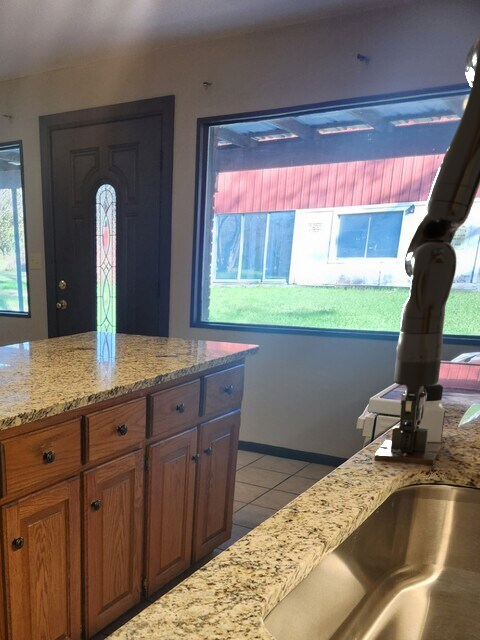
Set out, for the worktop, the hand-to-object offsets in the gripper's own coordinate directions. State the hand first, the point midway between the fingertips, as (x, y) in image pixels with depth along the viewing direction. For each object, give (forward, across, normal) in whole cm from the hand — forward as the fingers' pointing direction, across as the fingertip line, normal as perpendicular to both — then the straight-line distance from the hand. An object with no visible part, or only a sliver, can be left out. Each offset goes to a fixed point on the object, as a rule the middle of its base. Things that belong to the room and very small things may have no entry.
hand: (408, 447), depth 130 cm
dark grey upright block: (0, 0, 0) cm, 0 cm away
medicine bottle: (+4, +22, 0) cm, 22 cm away
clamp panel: (+3, 0, 0) cm, 3 cm away
